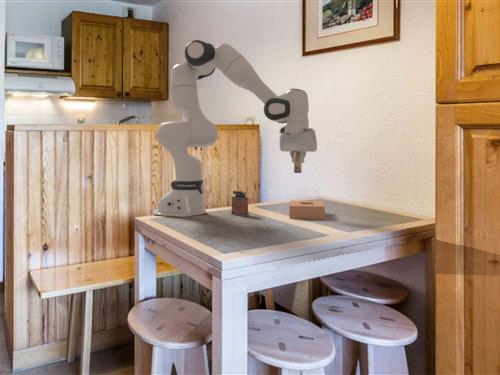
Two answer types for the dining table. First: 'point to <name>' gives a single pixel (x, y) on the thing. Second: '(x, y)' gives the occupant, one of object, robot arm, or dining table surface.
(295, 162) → the key peg
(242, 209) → the lighter
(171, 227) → the dining table surface
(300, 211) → the block
